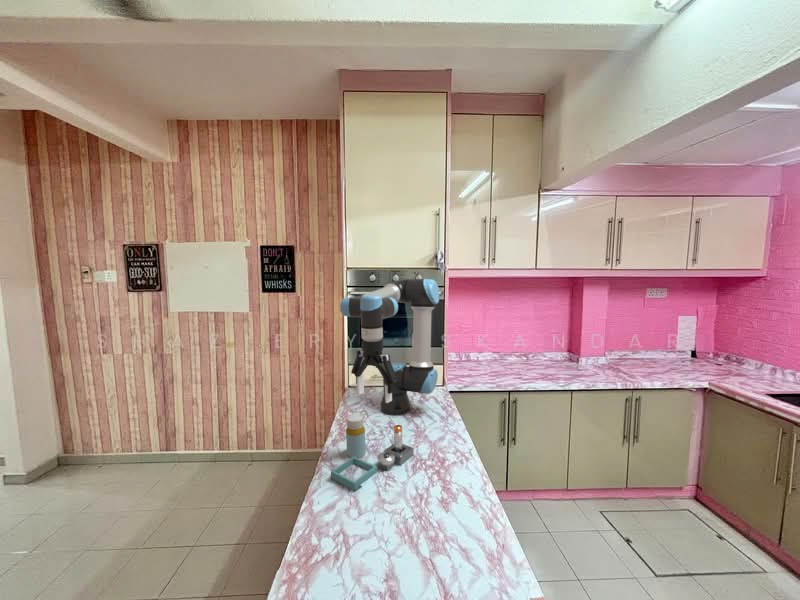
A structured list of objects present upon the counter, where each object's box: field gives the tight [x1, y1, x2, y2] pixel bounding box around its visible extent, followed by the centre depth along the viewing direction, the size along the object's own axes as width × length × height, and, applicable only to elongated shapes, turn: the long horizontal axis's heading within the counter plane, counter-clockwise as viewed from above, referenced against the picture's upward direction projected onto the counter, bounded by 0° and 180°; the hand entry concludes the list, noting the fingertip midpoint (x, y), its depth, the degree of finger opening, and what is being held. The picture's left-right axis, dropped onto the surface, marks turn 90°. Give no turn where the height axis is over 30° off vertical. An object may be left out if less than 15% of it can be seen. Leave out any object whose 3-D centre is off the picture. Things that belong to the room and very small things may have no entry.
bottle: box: [345, 413, 367, 459], centre depth 128 cm, size 7×7×15 cm
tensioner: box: [377, 443, 414, 472], centre depth 123 cm, size 14×8×5 cm, turn 143°
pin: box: [393, 424, 403, 454], centre depth 125 cm, size 3×3×12 cm
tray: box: [330, 457, 378, 493], centre depth 116 cm, size 11×11×3 cm
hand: (374, 397), depth 123 cm, fingers open, 13 cm apart
